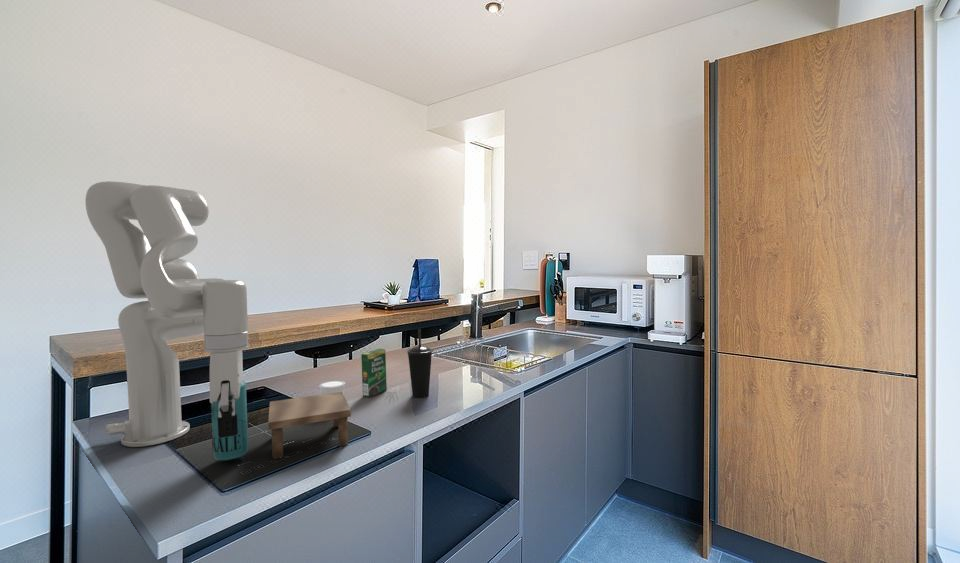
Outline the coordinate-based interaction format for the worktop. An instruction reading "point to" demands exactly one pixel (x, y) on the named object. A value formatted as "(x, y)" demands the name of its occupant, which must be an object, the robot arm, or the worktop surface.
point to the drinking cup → (420, 369)
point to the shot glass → (332, 387)
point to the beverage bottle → (237, 443)
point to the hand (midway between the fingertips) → (230, 428)
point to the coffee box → (374, 372)
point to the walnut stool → (308, 416)
